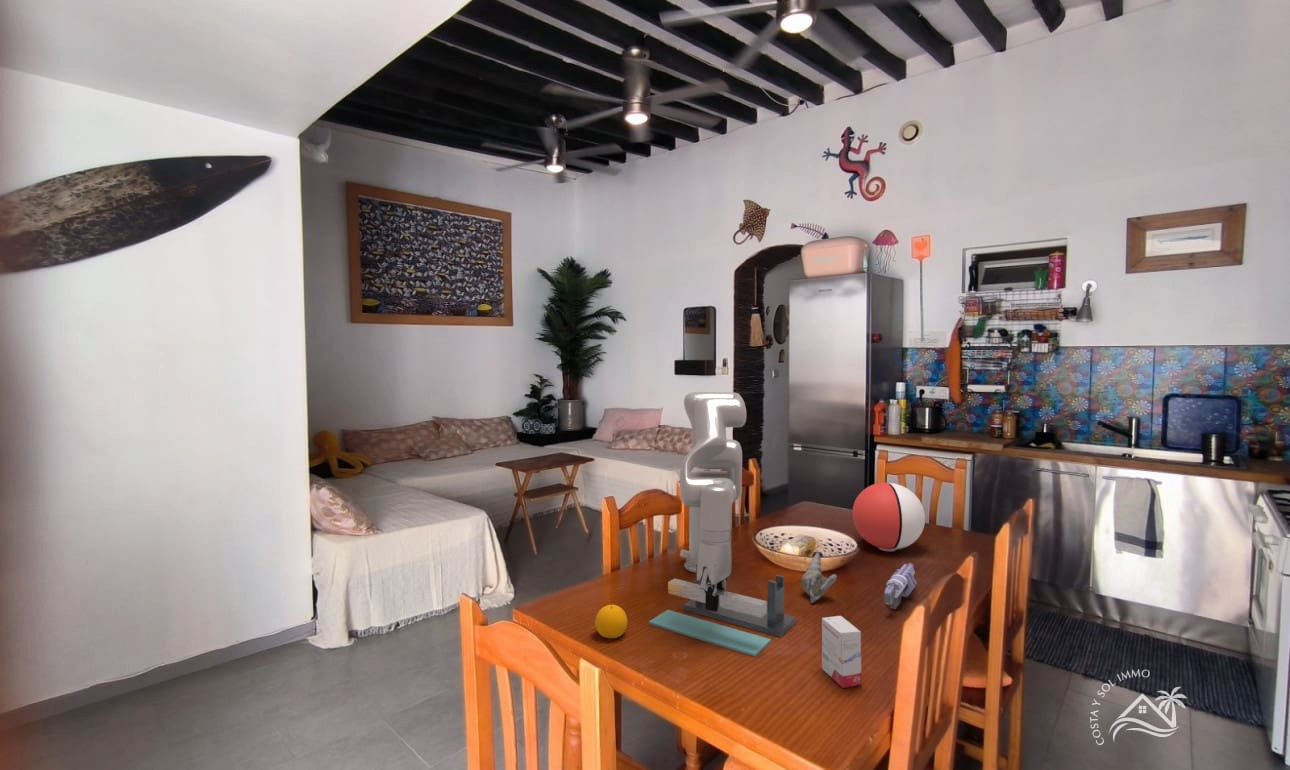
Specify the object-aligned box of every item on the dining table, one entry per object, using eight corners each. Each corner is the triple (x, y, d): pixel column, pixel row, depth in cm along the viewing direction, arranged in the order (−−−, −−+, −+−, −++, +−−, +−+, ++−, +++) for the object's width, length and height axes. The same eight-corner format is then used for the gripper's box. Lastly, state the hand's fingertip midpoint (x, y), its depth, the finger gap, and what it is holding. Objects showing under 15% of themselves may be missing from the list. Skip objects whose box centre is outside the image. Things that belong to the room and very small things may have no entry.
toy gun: (923, 588, 186) (924, 561, 186) (901, 622, 163) (902, 591, 163) (897, 582, 190) (898, 557, 190) (872, 615, 167) (873, 585, 167)
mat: (648, 623, 162) (648, 621, 162) (667, 611, 169) (667, 609, 169) (755, 656, 145) (755, 654, 145) (771, 641, 152) (771, 639, 152)
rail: (668, 593, 161) (668, 581, 161) (674, 589, 164) (674, 578, 164) (761, 617, 146) (761, 605, 146) (766, 613, 149) (766, 601, 149)
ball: (908, 539, 234) (935, 560, 210) (843, 538, 234) (864, 559, 211) (909, 476, 232) (937, 490, 209) (844, 476, 233) (865, 490, 209)
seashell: (793, 600, 177) (793, 566, 176) (813, 582, 190) (814, 550, 190) (828, 609, 171) (829, 573, 170) (846, 589, 185) (847, 556, 184)
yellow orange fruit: (622, 626, 160) (622, 597, 160) (631, 639, 153) (631, 610, 153) (592, 630, 158) (591, 601, 158) (599, 644, 151) (599, 614, 150)
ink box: (862, 686, 132) (863, 631, 131) (840, 689, 131) (841, 634, 130) (840, 665, 141) (841, 614, 140) (820, 668, 139) (820, 616, 139)
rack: (683, 610, 170) (684, 565, 170) (702, 598, 178) (702, 555, 178) (780, 637, 154) (781, 587, 153) (796, 622, 162) (796, 575, 162)
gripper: (718, 524, 163) (717, 594, 164) (685, 540, 150) (685, 615, 151) (744, 529, 159) (743, 600, 160) (713, 545, 145) (712, 623, 146)
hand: (715, 607), depth 155 cm, fingers closed on rail, 3 cm apart
